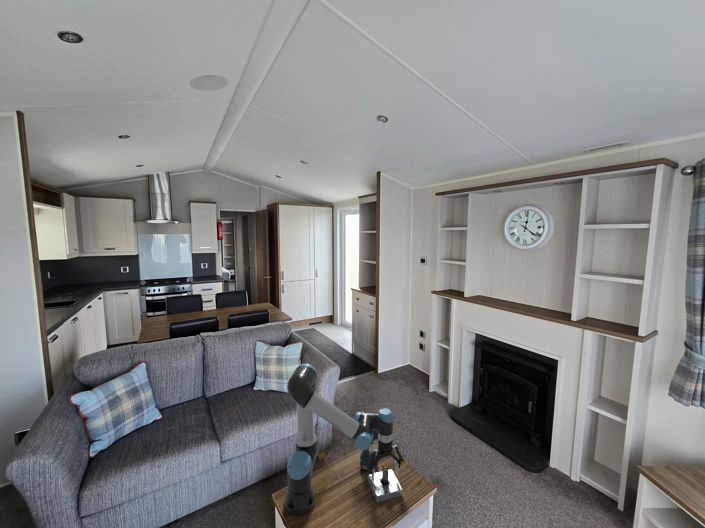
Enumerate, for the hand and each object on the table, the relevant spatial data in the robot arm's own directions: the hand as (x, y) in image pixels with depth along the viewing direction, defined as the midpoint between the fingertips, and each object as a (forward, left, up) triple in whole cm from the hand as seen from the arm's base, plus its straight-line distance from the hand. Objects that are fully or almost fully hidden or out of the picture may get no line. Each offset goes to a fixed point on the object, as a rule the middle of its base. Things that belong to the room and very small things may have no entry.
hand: (384, 476), depth 165 cm
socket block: (0, 0, -7) cm, 7 cm away
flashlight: (0, 0, -7) cm, 7 cm away
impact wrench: (-2, +16, -7) cm, 18 cm away
